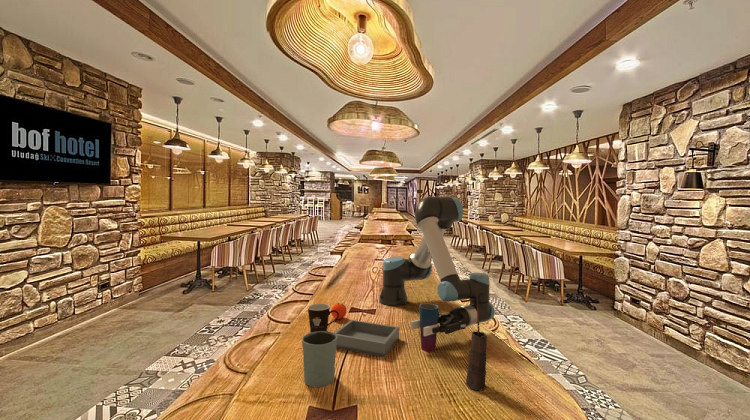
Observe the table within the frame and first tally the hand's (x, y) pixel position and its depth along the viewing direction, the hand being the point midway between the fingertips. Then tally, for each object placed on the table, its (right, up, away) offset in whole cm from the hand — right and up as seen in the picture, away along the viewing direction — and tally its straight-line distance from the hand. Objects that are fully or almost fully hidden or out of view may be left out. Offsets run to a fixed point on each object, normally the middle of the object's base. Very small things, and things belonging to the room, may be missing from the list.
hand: (417, 328), depth 108 cm
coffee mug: (-36, -8, +16) cm, 40 cm away
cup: (+4, -8, +3) cm, 10 cm away
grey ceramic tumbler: (-31, -8, -18) cm, 37 cm away
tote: (-18, -8, +7) cm, 21 cm away
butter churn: (+14, -8, -21) cm, 27 cm away
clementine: (-31, -8, +32) cm, 45 cm away
